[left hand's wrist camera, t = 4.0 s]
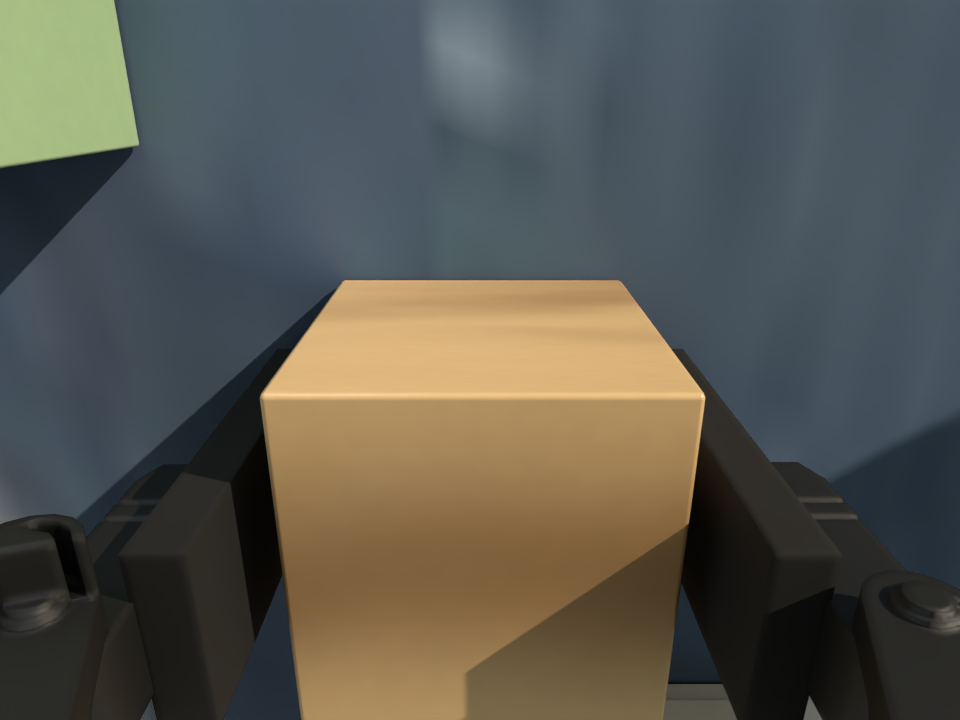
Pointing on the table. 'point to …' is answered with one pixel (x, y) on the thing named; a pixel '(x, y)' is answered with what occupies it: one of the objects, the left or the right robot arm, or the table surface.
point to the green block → (62, 81)
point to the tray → (708, 703)
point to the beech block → (482, 501)
